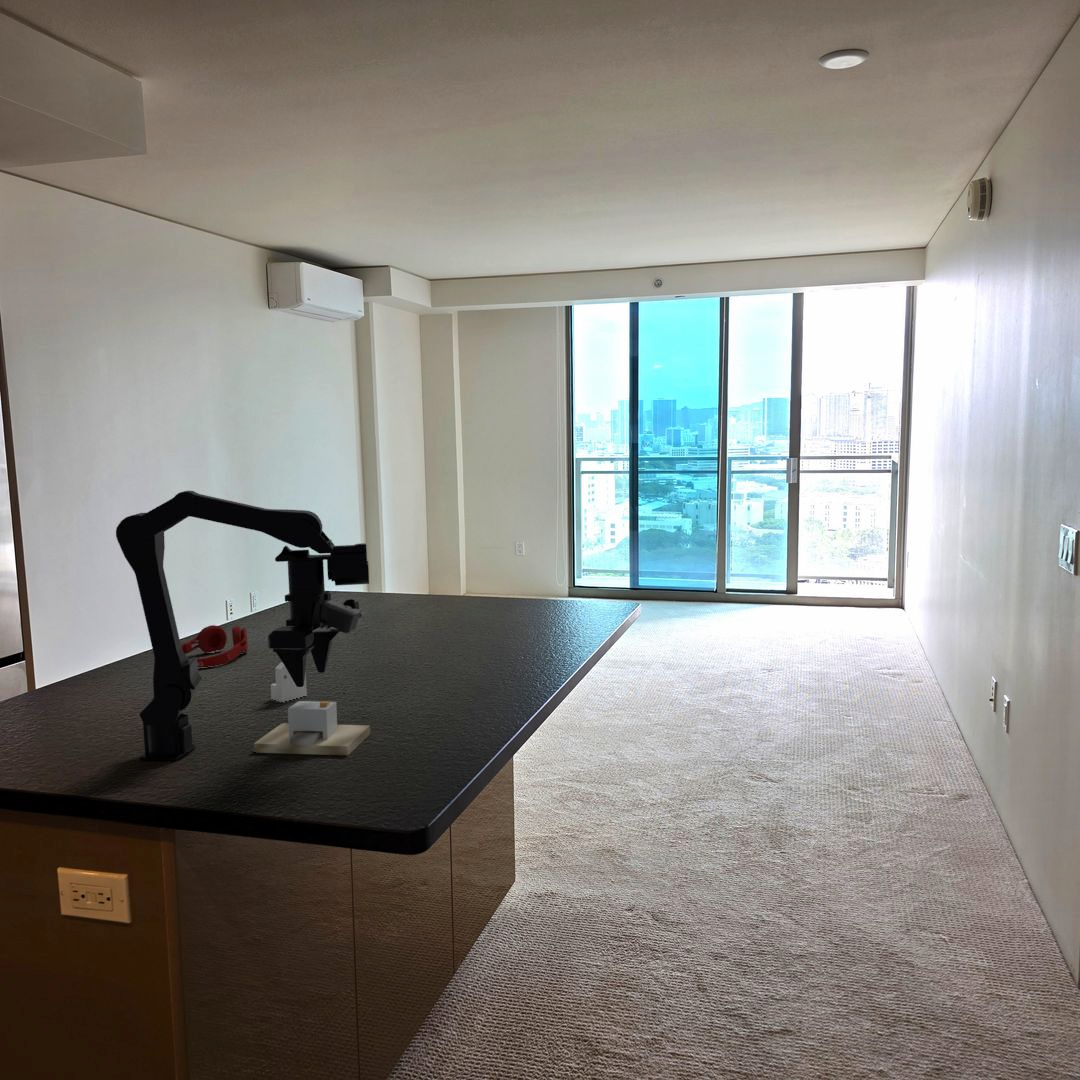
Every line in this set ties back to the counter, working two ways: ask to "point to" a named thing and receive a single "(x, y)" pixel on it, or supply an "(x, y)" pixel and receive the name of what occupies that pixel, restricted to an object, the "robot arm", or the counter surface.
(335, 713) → the block
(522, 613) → the counter surface
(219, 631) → the headphones
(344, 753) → the board
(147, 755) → the robot arm
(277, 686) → the white angled block
